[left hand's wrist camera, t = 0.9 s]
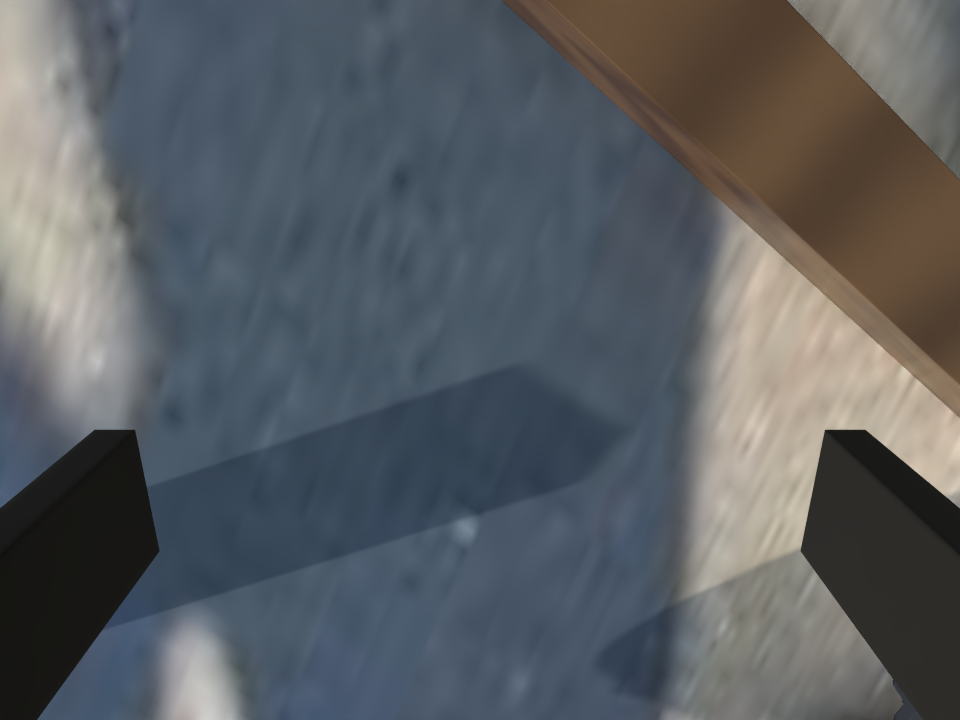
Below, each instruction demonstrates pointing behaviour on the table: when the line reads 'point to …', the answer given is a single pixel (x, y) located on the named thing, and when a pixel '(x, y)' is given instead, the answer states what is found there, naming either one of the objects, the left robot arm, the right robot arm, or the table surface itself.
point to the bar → (788, 154)
